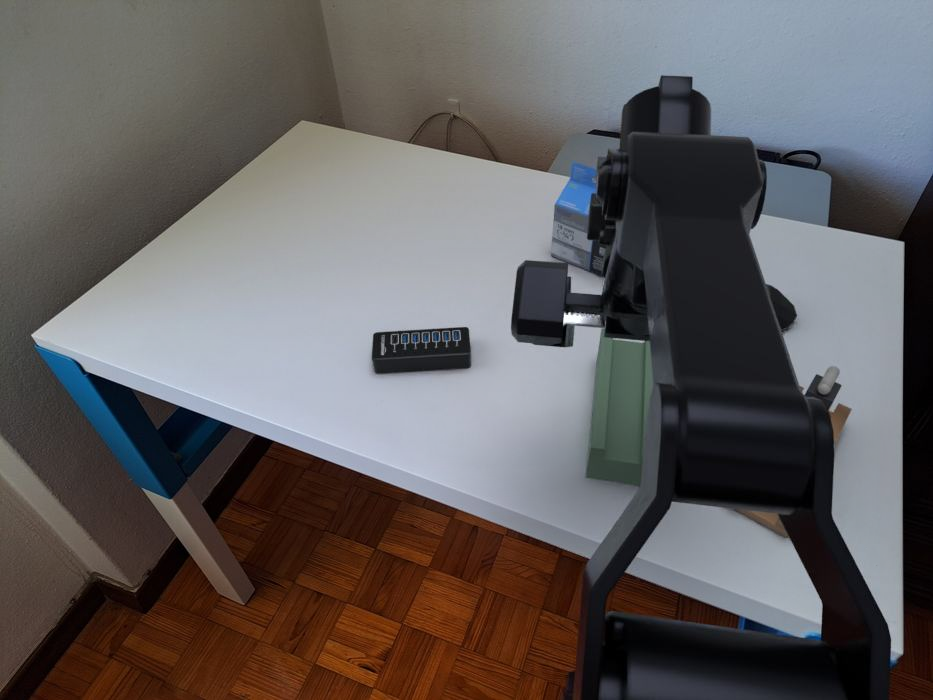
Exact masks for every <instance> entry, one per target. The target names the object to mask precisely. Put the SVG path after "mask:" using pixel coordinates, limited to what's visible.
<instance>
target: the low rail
mask: <svg viewBox="0 0 933 700" xmlns="http://www.w3.org/2000/svg"><path fill="white" fill-rule="evenodd" d="M799 386H800V389H801V391H802V392H804V390H805V387H804V386H802V385H799ZM852 410H853V409H852V408H851V407H848V406H846V405H844V404H842V403H837V405H836V406H835V409H834V410H833V411H831V410H829V414H830V418H831V422H832V427H833V431H834V445H836V442H837V440H838V438H839V436H840V434H841V432H842V431H843V428H844V426H845V424H846V423H847V420H848V418H849V417H850V414H851V412H852ZM733 510H735V511H736V512H738V513H739V514H742V515H744V516H745V517H747V518H749V519H751V520H752V521H754V522H757V523H758V524H760V525H762V526H763V527H765V528H767V529H769V530H771V531H773V532H775V533H777V534H778V535H780V536H782V537H783V538H788V537H789V536H788V534H787V532H786V530H785V528H784V526H783V524H782V522H781V520H780V518H779V516H778V514H774V513H765V512H757V511H748V510H739V509H733Z"/></svg>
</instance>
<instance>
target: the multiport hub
mask: <svg viewBox="0 0 933 700" xmlns="http://www.w3.org/2000/svg"><path fill="white" fill-rule="evenodd" d="M470 337H471V336H470V329H469V327H467V326H458V327H456V326H455V327H442V328H441V327H440V328H422V329H408V330H407V329H406V330H391V331H390V330H389V331H377V332H373V334H372V344H371V345H372V346H371V347H372V348H371V362H372V366H373V372H374V373H375V374H394V373H410V372H413V373H414V372H427V371H443V370H458V369H461V370H462V369H469V368H471V367H472V352H471V351H472V350H471V338H470Z"/></svg>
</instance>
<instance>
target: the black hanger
mask: <svg viewBox="0 0 933 700" xmlns="http://www.w3.org/2000/svg"><path fill="white" fill-rule="evenodd" d="M840 372H841V371H840V368H839V367H838V366H836V365H830V366H829V367H827V369H826V371H825V372H824V374H823V375H821V374H817V373H816V374H815V375H814V377H813V380H811V382H810V384H809V386H808V388H807V389H806V391H805V394H804V396H805V397H814V398H817V399H820V400H822V401H823V403H824V404H825V406H826V408H827V409H828V411H830V409H831V407H832V406H833V403H834V401H835V399H836V398H837V396H838V394H839V392H840V390H841V388H842V387H843V386H842V384H841V383H839V382H837V379H838V378H839V375H840Z"/></svg>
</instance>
